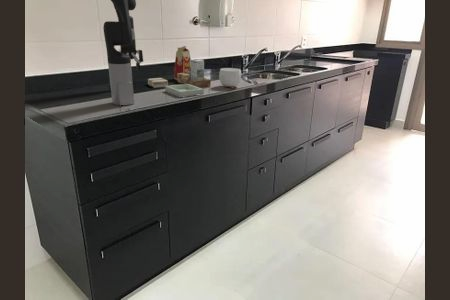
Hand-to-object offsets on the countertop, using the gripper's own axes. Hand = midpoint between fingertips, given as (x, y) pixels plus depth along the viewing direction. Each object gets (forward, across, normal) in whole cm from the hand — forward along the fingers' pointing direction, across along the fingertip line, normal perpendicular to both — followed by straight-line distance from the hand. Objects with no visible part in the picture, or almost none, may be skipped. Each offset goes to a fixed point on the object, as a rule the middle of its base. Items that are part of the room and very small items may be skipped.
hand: (130, 71), depth 165 cm
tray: (+8, +18, -25) cm, 32 cm away
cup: (+9, +48, -24) cm, 54 cm away
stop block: (+9, +32, -1) cm, 33 cm away
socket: (+9, +33, -13) cm, 36 cm away
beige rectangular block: (+9, +15, -1) cm, 18 cm away
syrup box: (+9, +33, -13) cm, 37 cm away
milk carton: (+9, +37, +9) cm, 39 cm away
